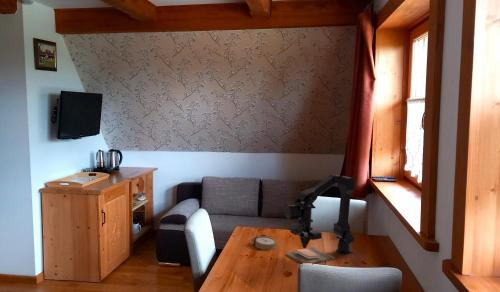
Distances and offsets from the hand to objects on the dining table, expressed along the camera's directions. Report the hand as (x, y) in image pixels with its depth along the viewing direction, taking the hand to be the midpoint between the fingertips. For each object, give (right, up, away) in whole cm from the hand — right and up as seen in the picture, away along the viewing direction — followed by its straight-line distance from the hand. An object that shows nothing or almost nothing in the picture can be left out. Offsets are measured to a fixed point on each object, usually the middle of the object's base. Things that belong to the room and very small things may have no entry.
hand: (304, 248), depth 192 cm
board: (+3, -5, +2) cm, 6 cm away
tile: (+2, -2, +1) cm, 3 cm away
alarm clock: (-20, -4, +18) cm, 27 cm away
